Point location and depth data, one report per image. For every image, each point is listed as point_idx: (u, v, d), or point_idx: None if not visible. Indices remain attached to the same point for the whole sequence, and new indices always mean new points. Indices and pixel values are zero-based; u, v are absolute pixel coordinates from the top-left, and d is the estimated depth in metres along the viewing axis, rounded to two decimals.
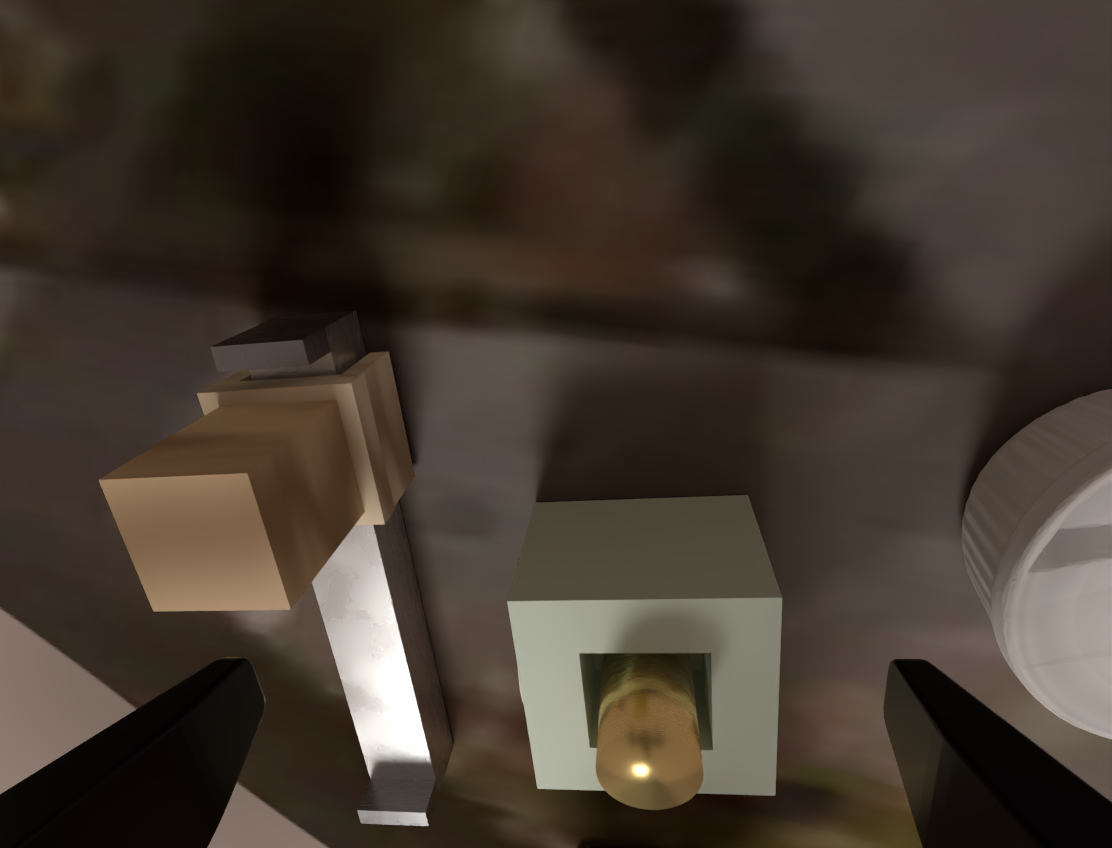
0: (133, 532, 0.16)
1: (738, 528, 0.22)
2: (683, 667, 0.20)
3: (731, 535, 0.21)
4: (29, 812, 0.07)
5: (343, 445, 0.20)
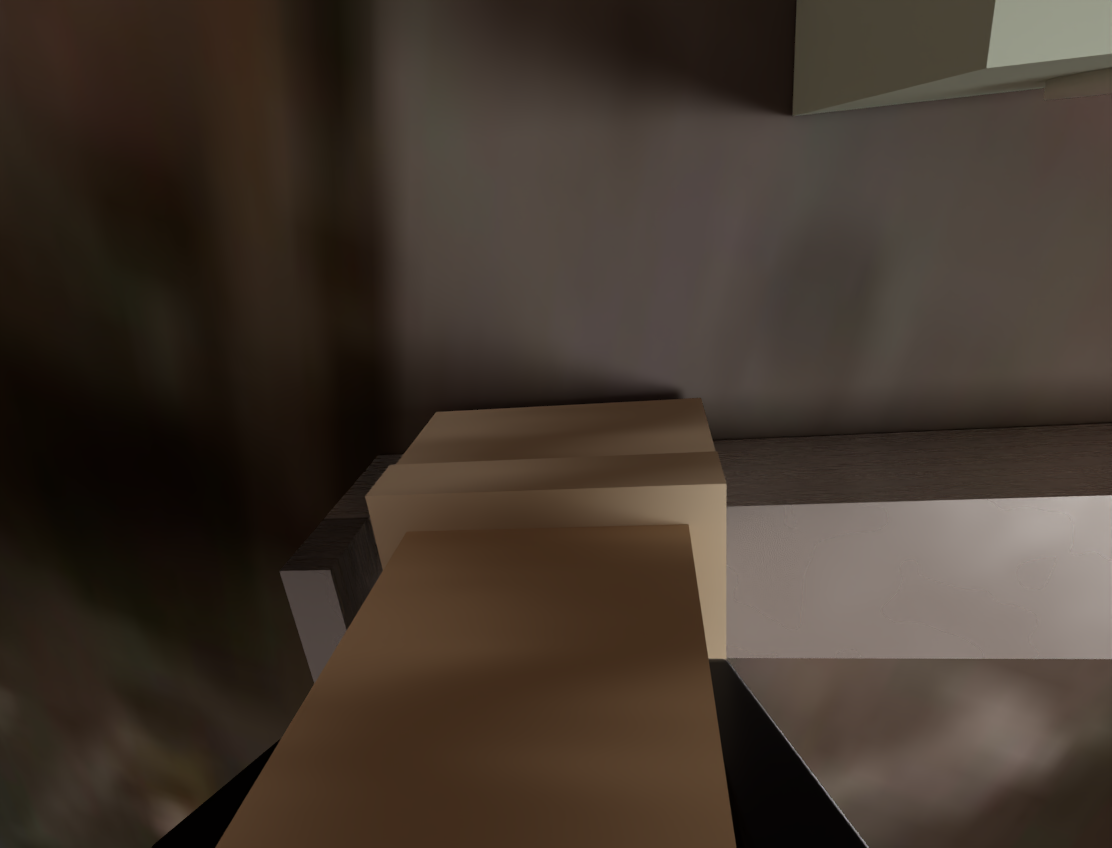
0: None
1: None
2: None
3: None
4: None
5: (499, 540, 0.09)
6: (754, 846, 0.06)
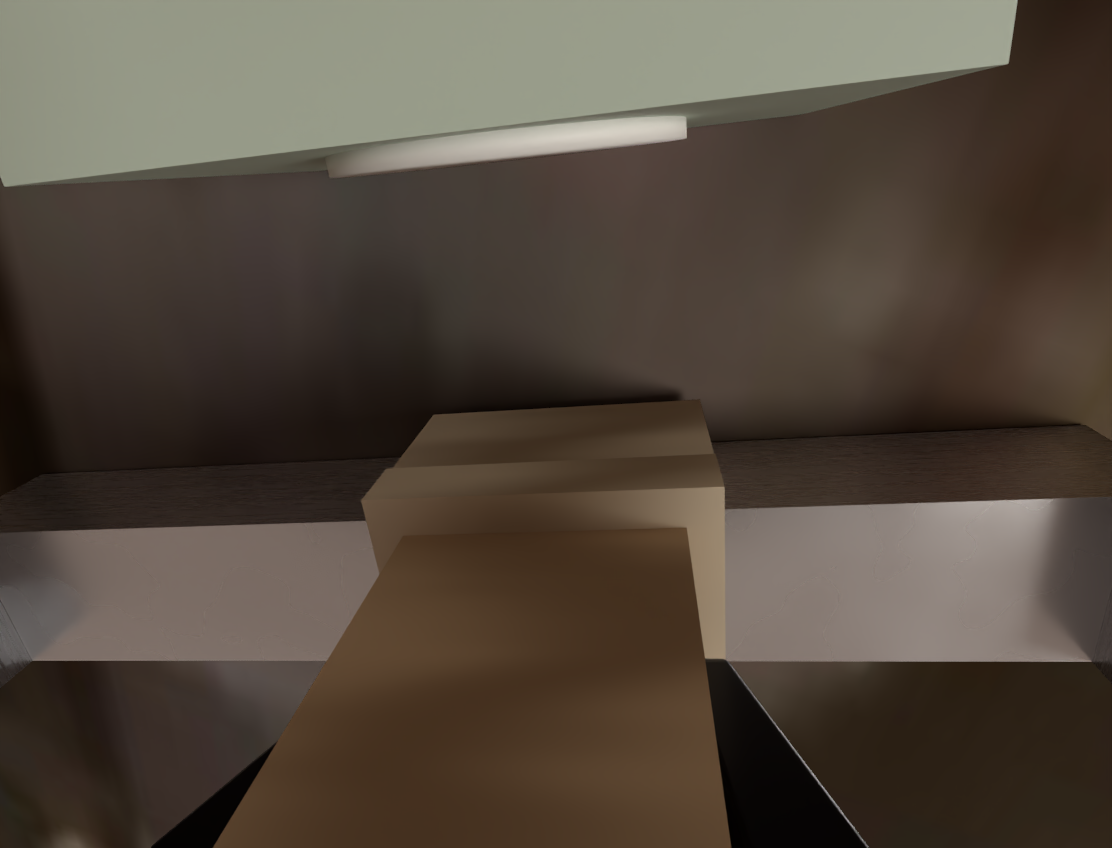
0: None
1: None
2: None
3: None
4: None
5: (496, 544, 0.09)
6: (754, 847, 0.06)
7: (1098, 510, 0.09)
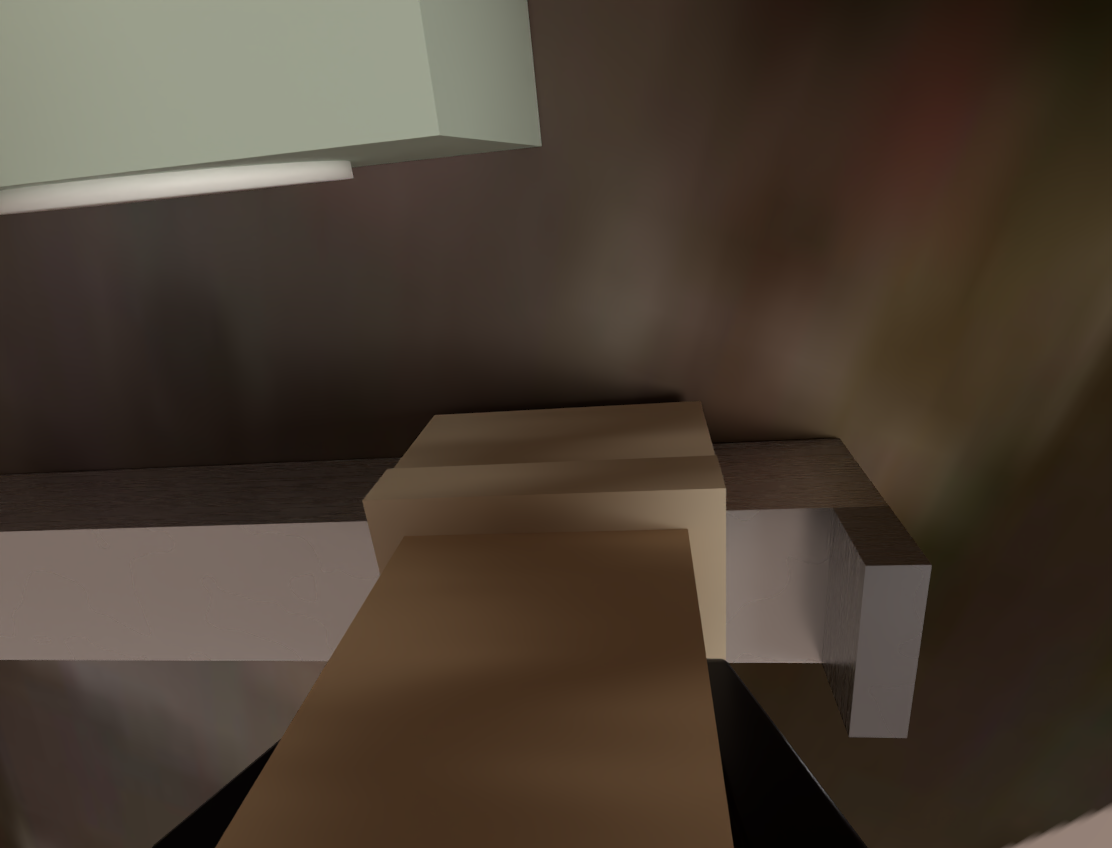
0: None
1: None
2: None
3: None
4: None
5: (497, 545, 0.09)
6: (752, 846, 0.06)
7: (801, 521, 0.10)
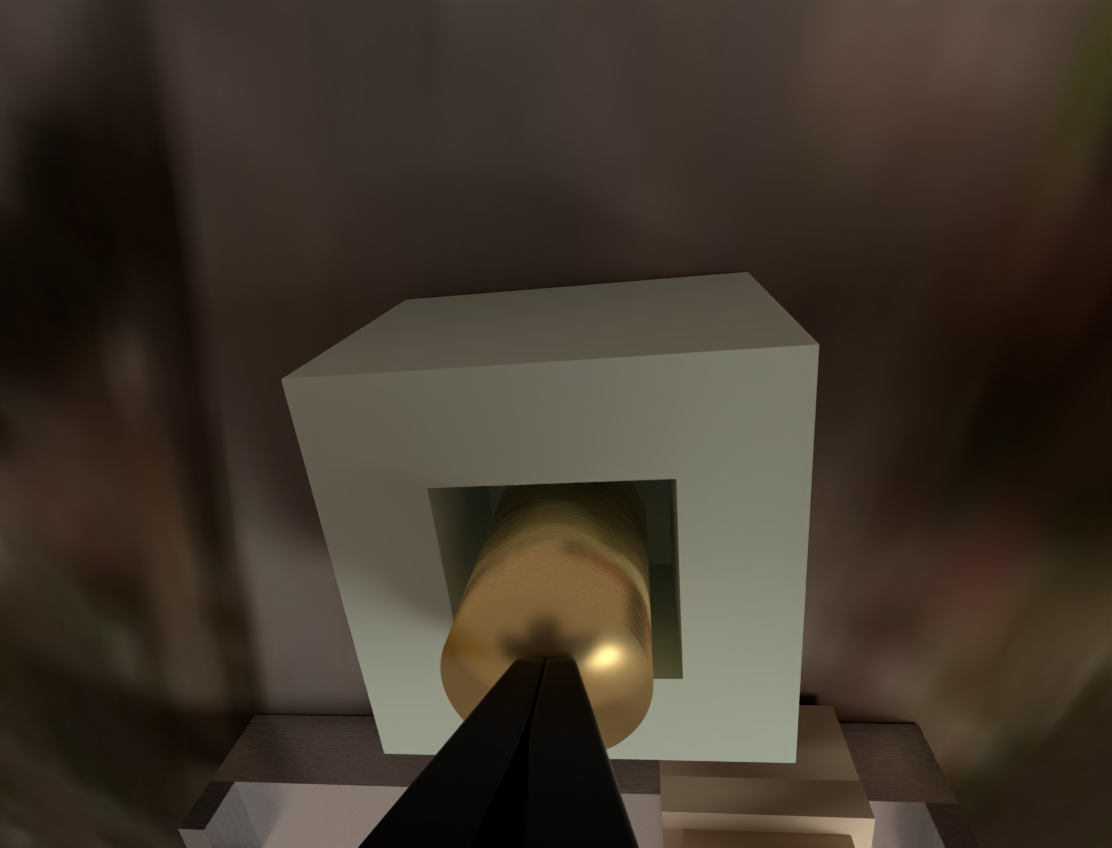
0: None
1: None
2: (509, 500, 0.11)
3: None
4: (442, 830, 0.06)
5: (743, 843, 0.16)
6: (527, 837, 0.06)
7: (905, 808, 0.17)
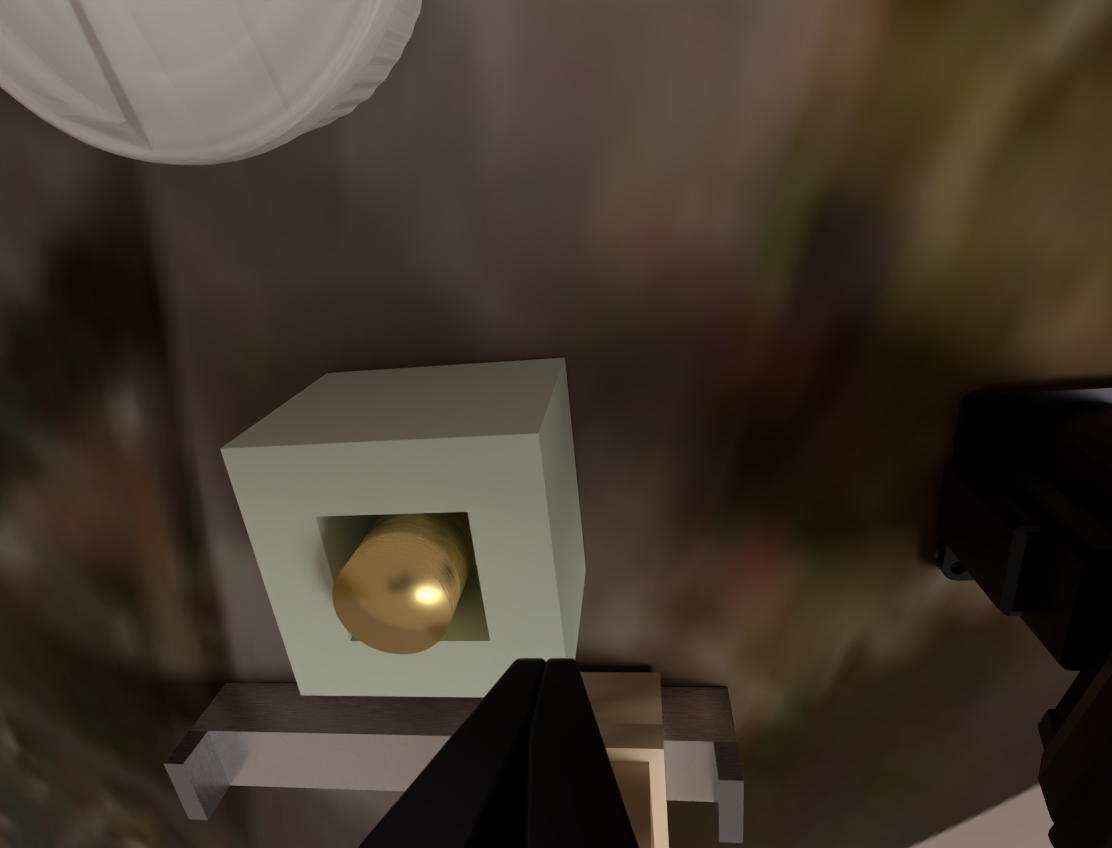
0: None
1: None
2: None
3: None
4: (442, 830, 0.06)
5: None
6: (528, 837, 0.06)
7: (700, 745, 0.22)
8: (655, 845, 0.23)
